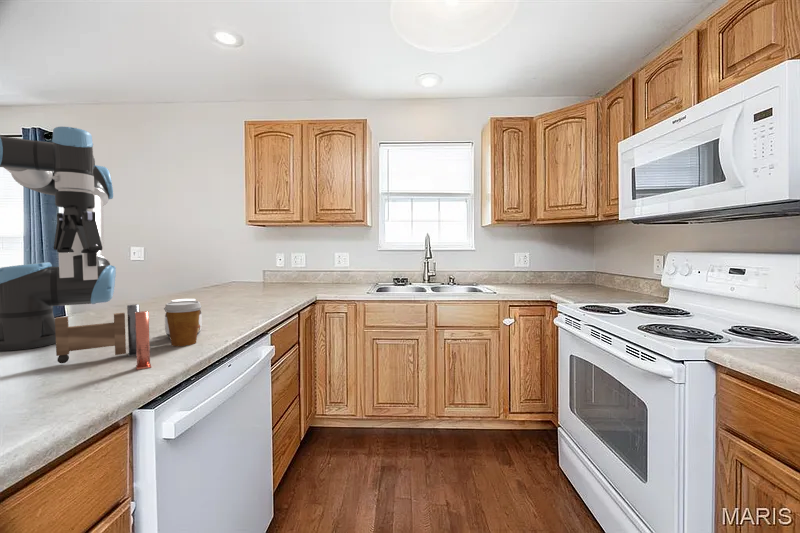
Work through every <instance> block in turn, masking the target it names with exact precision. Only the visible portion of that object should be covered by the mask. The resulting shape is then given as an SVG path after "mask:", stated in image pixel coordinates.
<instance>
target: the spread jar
mask: <svg viewBox="0 0 800 533" xmlns="http://www.w3.org/2000/svg"><path fill="white" fill-rule="evenodd" d="M178 301H197V300H196V298H179V299H178V298H177V299H176V298H175V299H172V300H170V302H178ZM202 327H203V316H202V309H200V315H199V323H198V332H197V336H198V335H199V334H200V333H201V330H202ZM164 331H165V334H166V336H167V337H169V338H170V333H169V327H168V321H167V315H166V313H165V315H164Z"/></svg>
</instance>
